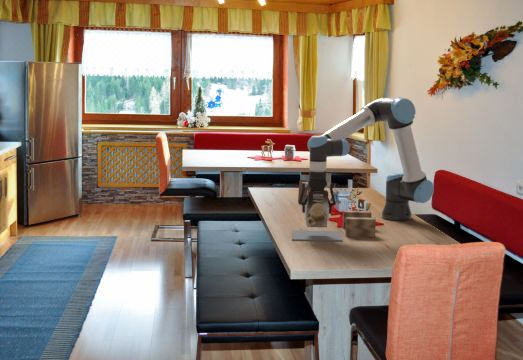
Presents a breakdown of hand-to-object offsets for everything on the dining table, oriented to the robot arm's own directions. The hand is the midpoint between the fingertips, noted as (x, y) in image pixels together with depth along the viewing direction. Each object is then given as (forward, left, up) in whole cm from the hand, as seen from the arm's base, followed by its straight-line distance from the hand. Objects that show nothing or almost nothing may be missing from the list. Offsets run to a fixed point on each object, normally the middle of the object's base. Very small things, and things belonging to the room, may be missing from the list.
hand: (316, 220), depth 300 cm
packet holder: (-20, -11, -7) cm, 24 cm away
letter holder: (-1, -79, -8) cm, 79 cm away
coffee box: (0, 0, -3) cm, 3 cm away
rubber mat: (0, 0, -7) cm, 7 cm away
